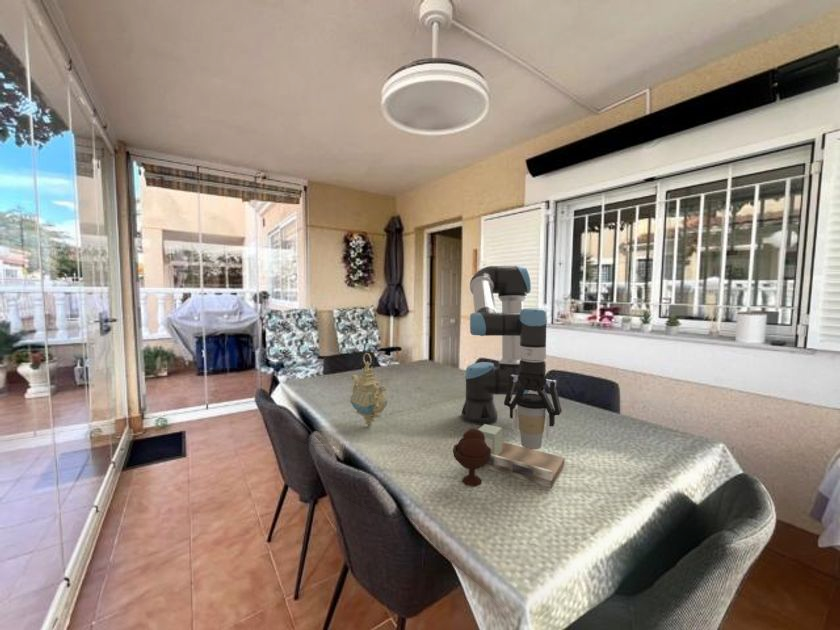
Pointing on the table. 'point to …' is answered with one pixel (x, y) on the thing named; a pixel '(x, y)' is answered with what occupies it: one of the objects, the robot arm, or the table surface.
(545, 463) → the shelf board
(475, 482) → the ice cream bowl
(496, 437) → the pale green box
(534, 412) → the coffee cup
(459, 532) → the table surface
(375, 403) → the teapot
